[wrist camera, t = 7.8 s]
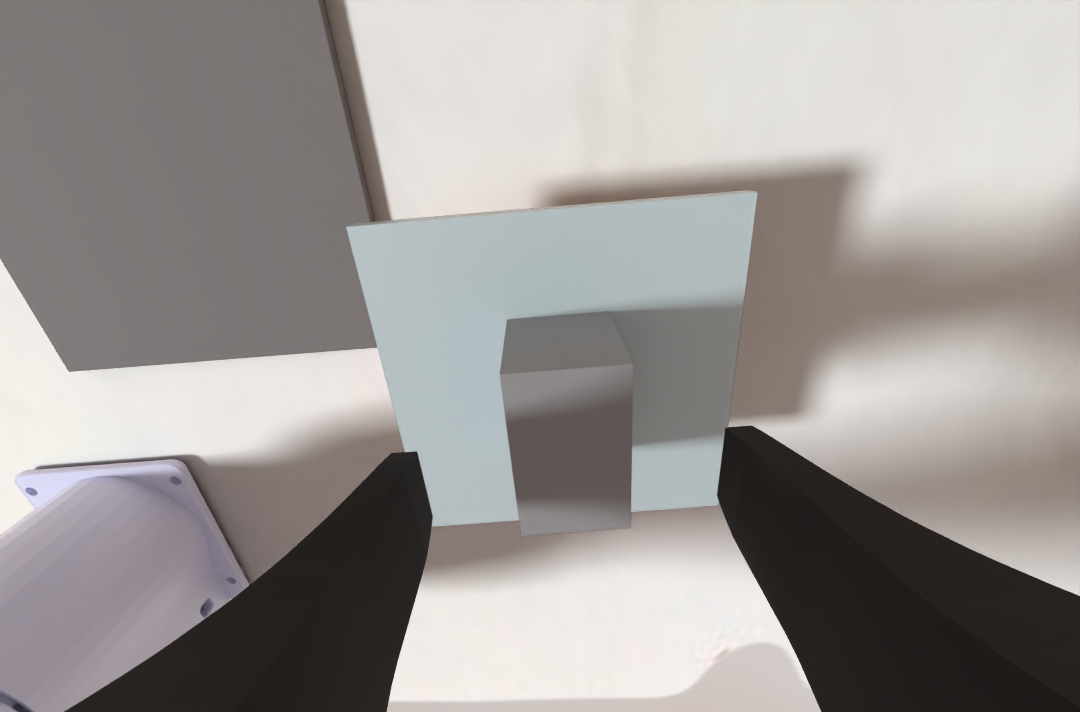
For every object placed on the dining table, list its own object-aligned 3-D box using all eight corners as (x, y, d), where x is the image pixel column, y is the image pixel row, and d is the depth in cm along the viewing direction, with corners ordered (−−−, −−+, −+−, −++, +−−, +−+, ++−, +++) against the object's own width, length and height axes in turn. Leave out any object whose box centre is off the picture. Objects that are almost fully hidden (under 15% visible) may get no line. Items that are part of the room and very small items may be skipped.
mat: (402, 341, 19) (399, 345, 18) (79, 366, 19) (68, 371, 18) (300, -101, 13) (292, -110, 12) (-170, -57, 13) (-195, -65, 12)
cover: (712, 494, 17) (763, 591, 13) (427, 515, 17) (399, 617, 13) (747, 189, 12) (843, 208, 8) (353, 223, 12) (279, 256, 9)
